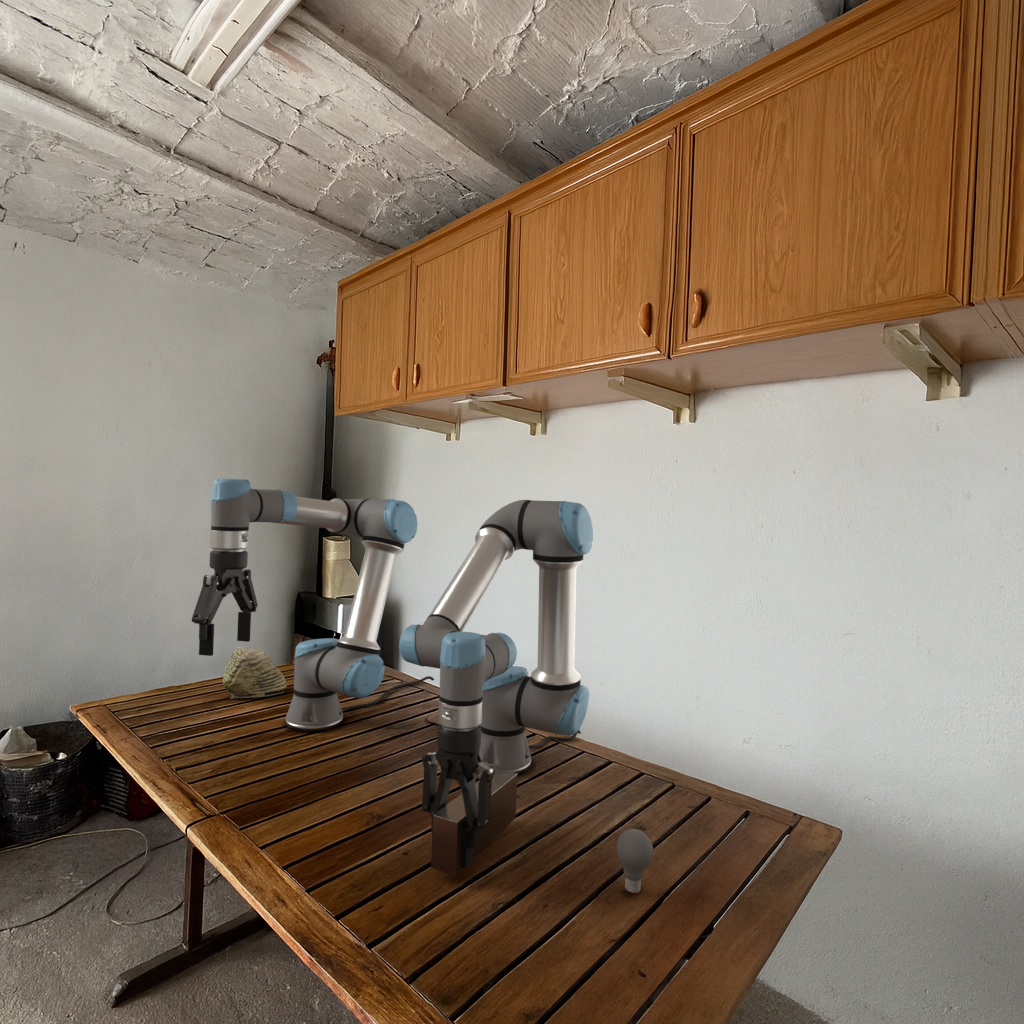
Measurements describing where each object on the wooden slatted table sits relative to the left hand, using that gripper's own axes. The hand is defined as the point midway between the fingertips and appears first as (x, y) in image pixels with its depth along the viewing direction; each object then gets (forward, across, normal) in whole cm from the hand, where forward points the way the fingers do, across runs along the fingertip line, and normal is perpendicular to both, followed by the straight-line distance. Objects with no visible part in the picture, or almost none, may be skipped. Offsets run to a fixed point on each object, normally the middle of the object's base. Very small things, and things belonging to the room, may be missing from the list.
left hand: (225, 647), depth 137 cm
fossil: (+30, +57, +26) cm, 69 cm away
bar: (+28, -13, -60) cm, 67 cm away
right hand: (+27, -21, -57) cm, 67 cm away
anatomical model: (+30, +52, -38) cm, 71 cm away
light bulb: (+30, -19, -88) cm, 94 cm away
